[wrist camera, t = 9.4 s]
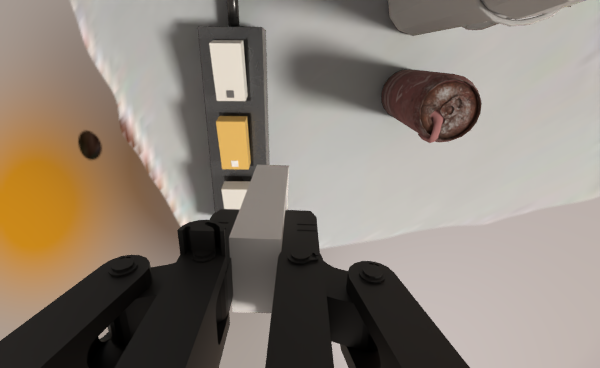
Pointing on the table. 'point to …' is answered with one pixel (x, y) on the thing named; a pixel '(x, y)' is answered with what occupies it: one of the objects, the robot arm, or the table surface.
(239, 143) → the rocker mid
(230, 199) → the rocker
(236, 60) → the rocker
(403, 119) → the can
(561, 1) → the water bottle
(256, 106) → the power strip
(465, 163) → the table surface
